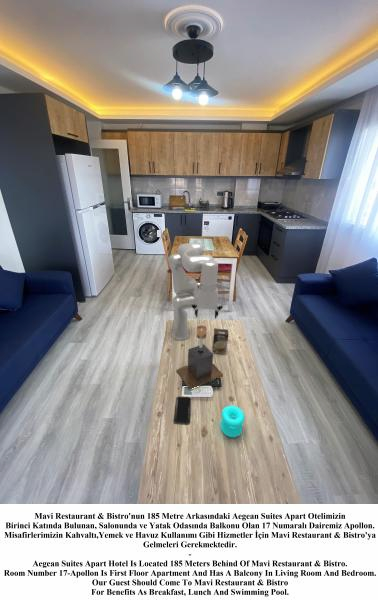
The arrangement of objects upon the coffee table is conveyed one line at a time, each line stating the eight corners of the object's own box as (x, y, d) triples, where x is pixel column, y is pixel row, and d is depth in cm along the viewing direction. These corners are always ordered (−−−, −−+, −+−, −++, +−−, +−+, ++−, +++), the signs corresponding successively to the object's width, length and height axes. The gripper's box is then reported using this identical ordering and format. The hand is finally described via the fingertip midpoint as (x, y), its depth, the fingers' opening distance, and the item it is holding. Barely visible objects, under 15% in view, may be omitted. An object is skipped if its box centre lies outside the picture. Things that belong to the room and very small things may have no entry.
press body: (176, 371, 142) (176, 349, 135) (207, 359, 152) (209, 338, 145) (189, 390, 130) (190, 367, 123) (222, 376, 140) (225, 353, 132)
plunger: (190, 357, 137) (191, 326, 128) (202, 353, 141) (204, 322, 131) (197, 366, 131) (199, 334, 122) (210, 361, 135) (212, 330, 125)
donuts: (221, 421, 103) (222, 402, 112) (219, 436, 108) (220, 417, 116) (245, 425, 102) (244, 406, 110) (242, 440, 106) (241, 420, 115)
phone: (173, 422, 112) (176, 396, 126) (173, 424, 113) (176, 397, 126) (190, 423, 112) (191, 397, 125) (190, 425, 113) (191, 398, 126)
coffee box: (212, 354, 157) (213, 333, 150) (212, 348, 163) (213, 328, 155) (226, 355, 156) (228, 335, 149) (225, 349, 162) (228, 329, 155)
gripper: (189, 288, 112) (188, 319, 120) (227, 290, 112) (223, 321, 120) (190, 281, 119) (189, 311, 127) (226, 283, 118) (222, 313, 126)
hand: (206, 316), depth 123 cm, fingers open, 9 cm apart
